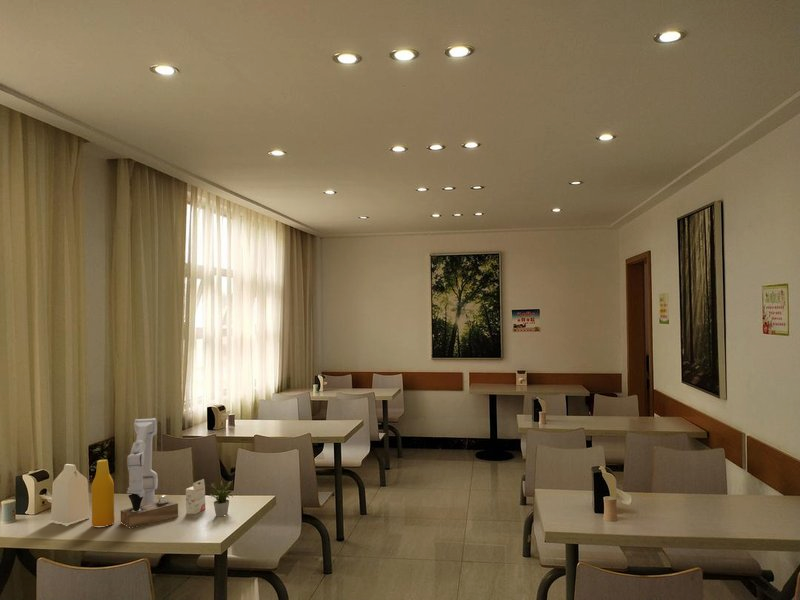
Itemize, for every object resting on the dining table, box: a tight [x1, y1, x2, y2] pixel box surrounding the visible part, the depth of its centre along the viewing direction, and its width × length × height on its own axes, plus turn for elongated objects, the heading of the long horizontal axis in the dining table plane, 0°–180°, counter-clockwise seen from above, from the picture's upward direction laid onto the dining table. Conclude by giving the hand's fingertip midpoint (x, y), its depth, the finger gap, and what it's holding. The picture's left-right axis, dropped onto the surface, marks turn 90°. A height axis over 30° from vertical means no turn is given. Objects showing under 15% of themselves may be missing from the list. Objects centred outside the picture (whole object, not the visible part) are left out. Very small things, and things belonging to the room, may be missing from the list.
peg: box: [157, 494, 168, 506], centre depth 282 cm, size 4×4×6 cm
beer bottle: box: [91, 459, 116, 527], centre depth 273 cm, size 9×9×29 cm
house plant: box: [207, 479, 233, 517], centre depth 281 cm, size 14×14×16 cm
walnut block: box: [120, 498, 179, 529], centre depth 278 cm, size 11×22×6 cm, turn 135°
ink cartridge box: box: [185, 478, 206, 515], centre depth 288 cm, size 9×5×15 cm, turn 161°
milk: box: [50, 463, 91, 523], centre depth 281 cm, size 12×12×26 cm
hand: (136, 510), depth 273 cm, fingers closed, pressing on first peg
